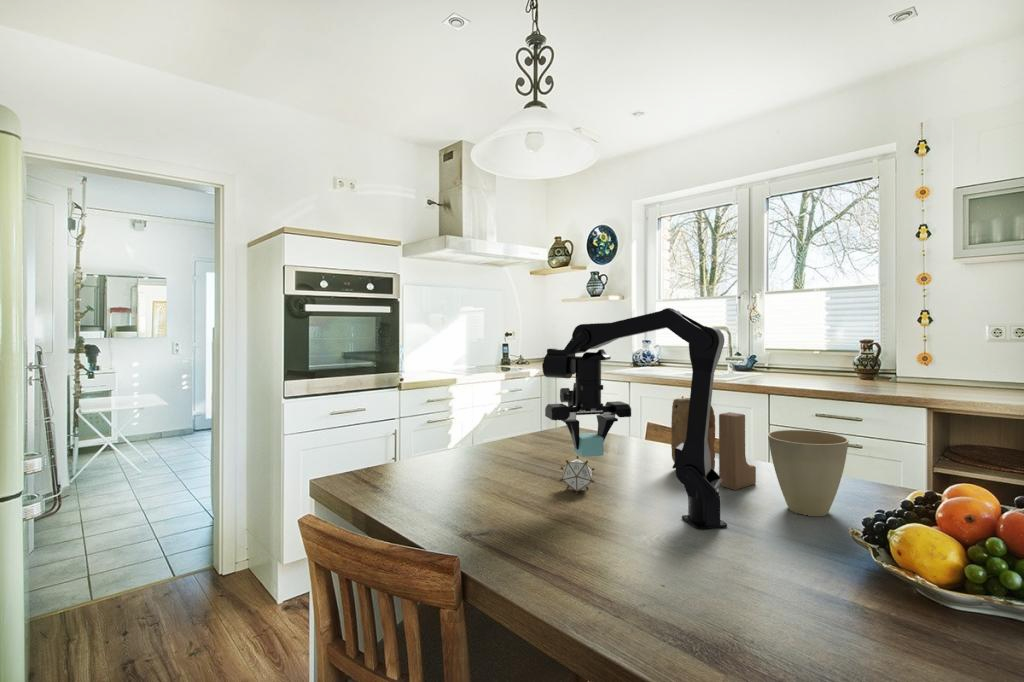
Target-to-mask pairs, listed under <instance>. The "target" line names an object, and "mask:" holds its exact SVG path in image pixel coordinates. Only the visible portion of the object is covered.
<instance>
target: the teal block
mask: <svg viewBox="0 0 1024 682" xmlns="http://www.w3.org/2000/svg"><path fill="white" fill-rule="evenodd" d="M573 448H574V449H573V452H575V453H576V454H577V455H579V456H580V457H581V458H587V457H589V458H590V457H600V456H601V457H603V456H604V442H603V437H601V436H599V435H597V433H595V432H590V433H579V449H578V450H577V449H575V446H573Z"/></svg>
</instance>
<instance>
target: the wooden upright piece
mask: <svg viewBox="0 0 1024 682" xmlns="http://www.w3.org/2000/svg"><path fill="white" fill-rule="evenodd" d="M672 401H673V402H672V406H671V407H672V408H671V425H670V426H671V427H670V428H671V429H670V431H671V436H670V437H671V438H670V439H671V442H670V443H671V445H670V447H671V458H672V461H673V463H675V448H676V447H677V446H678V445H680V444H681V443H685V440H686V433H687V423H688V413H689V403H690V397H684V398H675V399H673V400H672ZM707 439H708V445H709V450H710V458H711V468H712V469H713V470H714V471H715V466H716V460H715V458H716V450H715V441H716V415H715V411H714V409H713V406H712V405H711V409H710V418H709V428H708V438H707Z"/></svg>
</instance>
